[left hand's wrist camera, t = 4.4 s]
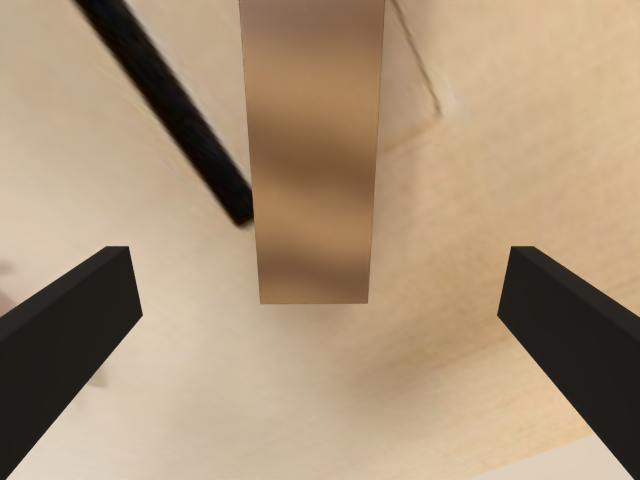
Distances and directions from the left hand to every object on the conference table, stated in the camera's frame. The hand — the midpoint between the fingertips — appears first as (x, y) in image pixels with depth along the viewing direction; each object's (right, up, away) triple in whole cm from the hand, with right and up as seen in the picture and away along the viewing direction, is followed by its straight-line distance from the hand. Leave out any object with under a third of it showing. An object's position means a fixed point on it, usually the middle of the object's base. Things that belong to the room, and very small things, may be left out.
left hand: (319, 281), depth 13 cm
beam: (0, +36, -1) cm, 36 cm away
